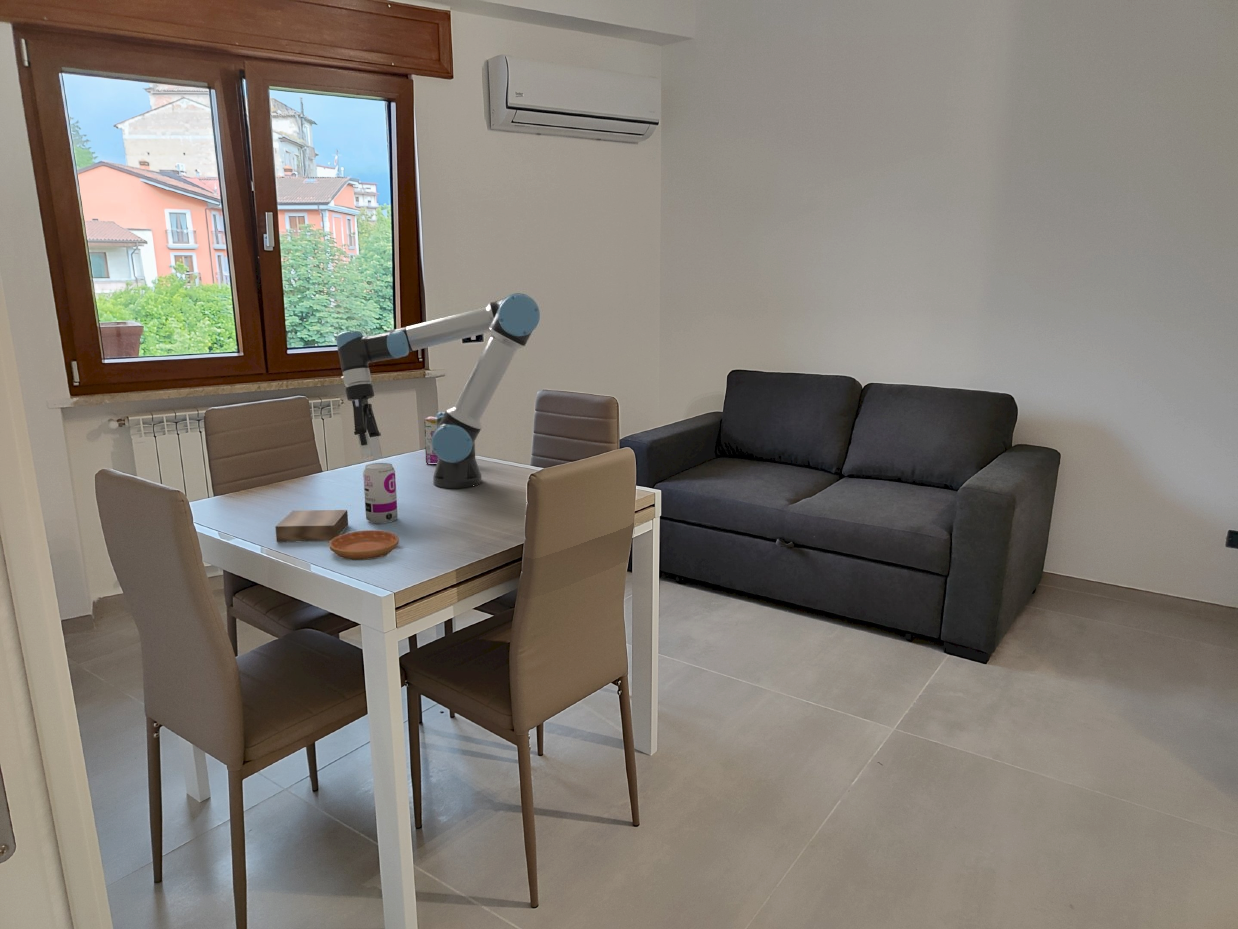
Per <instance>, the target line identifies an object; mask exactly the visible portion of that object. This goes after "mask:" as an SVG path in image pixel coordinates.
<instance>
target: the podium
mask: <svg viewBox="0 0 1238 929" xmlns="http://www.w3.org/2000/svg"><path fill="white" fill-rule="evenodd" d="M348 517H349V515H348V509H325V510H324V509H321V510H320V509H319V510H317V509H316V510H315V509H314V510H313V509H312V510H309V509H308V510H291V512H290V513H289V514H287V515H286V516H285V517H284V518H283V519H282V520H281V521H279V523H277V524H276V525H275V527H274V528H275V538H276V542H277V543H287V541H290V542H289V543H291V542H292V543H295V542H296V541H302V542H330V541H331V540H332V539H333V538H335V537H337V536H340V535H342V533H343V532H344V531H345V529H347V526H348V525H349V520H348V519H349V518H348ZM296 543H297V542H296Z"/></svg>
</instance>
